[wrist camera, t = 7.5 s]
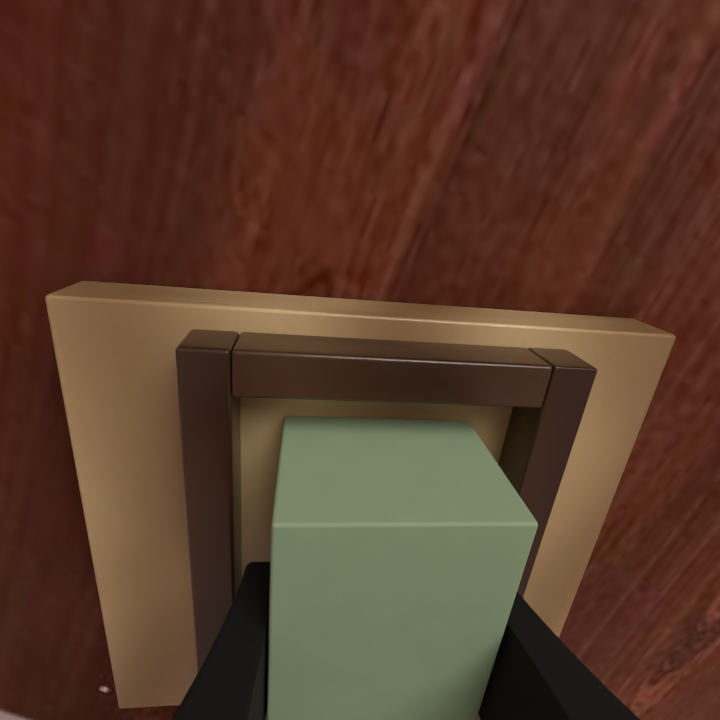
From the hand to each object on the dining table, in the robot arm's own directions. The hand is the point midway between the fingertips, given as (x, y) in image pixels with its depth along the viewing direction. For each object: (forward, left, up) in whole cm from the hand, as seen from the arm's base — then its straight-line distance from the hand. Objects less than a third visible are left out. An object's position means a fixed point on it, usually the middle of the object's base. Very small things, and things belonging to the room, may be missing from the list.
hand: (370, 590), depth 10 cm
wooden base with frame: (0, 0, -3) cm, 3 cm away
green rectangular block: (0, 0, -1) cm, 1 cm away
